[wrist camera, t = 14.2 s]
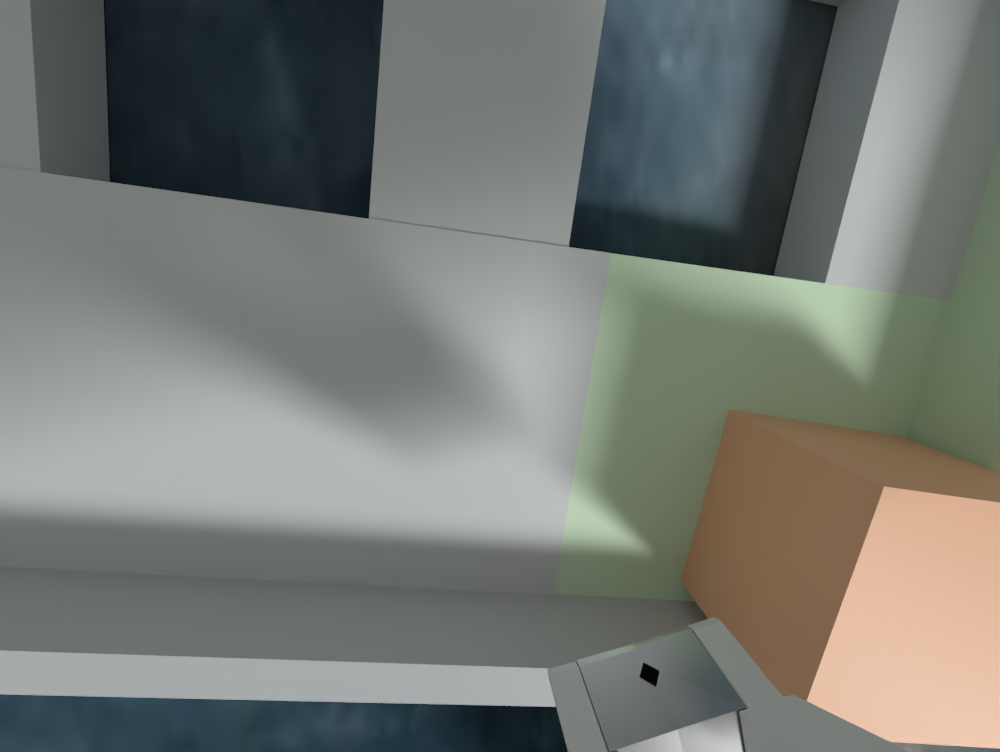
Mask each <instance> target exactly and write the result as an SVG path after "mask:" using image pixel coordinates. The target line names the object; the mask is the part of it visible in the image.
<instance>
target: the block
mask: <svg viewBox="0 0 1000 752" xmlns="http://www.w3.org/2000/svg"><path fill="white" fill-rule="evenodd" d="M681 582H682V584H683V585H684V587H685V588H686V589H687V591H688V592H689V593H690V595H691V596H692V597H693V599H694V600H695V602H696V603H697V604H698V606H699V607H700V608H701V610H702V611H703V612H704V614H705V615H706V617H707V618H708V619H709V618H712V617H716V618H718V619H719V620H721V621H722V623H723V624H724V625H725V626H726V628H727V629H728V630H729V631H730V632H731V634H732V635H733V636H734V637H735V638H736V640H737V641H738V642H739V643H740V645H741V646H742V647H743V648H744V649H745V651H746V652H747V653H748V654H749V656H750V657H751V658H752V659H753V660H754V662H755V663H756V664H757V665H758V666H759V668H760V669H761V670H762V671H763V673H764V674H765V675H766V676H767V677H768V679H769V680H770V681H771V682H772V684H773V685H774V686H775V687H776V688H777V690H778V691H779V692H780V693H781V694H782V696H783V697H786V696H789V695H795V696H797V697H799V698H801V699H803V700H806V701H808V702H810V703H812V704H814V705H816V706H818V707H820V708H822V709H824V710H826V711H828V712H830V713H832V714H834V715H836V716H838V717H840V718H842V719H844V720H846V721H848V722H850V723H852V724H854V725H857V726H859V727H861V728H863V729H865V730H867V731H869V732H871V733H873V734H875V735H877V736H879V737H881V738H883V739H885V740H887V741H889V742H901V743H918V744H934V745H950V746H967V747H983V748H999V749H1000V473H999V472H997V471H994V470H991V469H988V468H986V467H983V466H980V465H978V464H975V463H972V462H969V461H967V460H964V459H961V458H959V457H956V456H953V455H950V454H948V453H945V452H942V451H940V450H937V449H934V448H931V447H929V446H926V445H923V444H921V443H918V442H915V441H912V440H910V439H907V438H904V437H901V436H898V435H891V434H885V433H878V432H872V431H866V430H859V429H853V428H846V427H840V426H834V425H827V424H821V423H814V422H808V421H802V420H795V419H789V418H782V417H776V416H770V415H763V414H757V413H750V412H744V411H738V410H731V409H729V412H728V416H727V419H726V423H725V426H724V430H723V433H722V437H721V440H720V444H719V448H718V451H717V455H716V458H715V462H714V465H713V469H712V472H711V476H710V479H709V483H708V486H707V490H706V493H705V497H704V501H703V504H702V508H701V511H700V515H699V518H698V522H697V525H696V529H695V532H694V536H693V539H692V543H691V546H690V550H689V553H688V557H687V561H686V564H685V568H684V571H683V575H682V578H681Z"/></svg>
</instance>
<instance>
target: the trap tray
mask: <svg viewBox="0 0 1000 752" xmlns="http://www.w3.org/2000/svg"><path fill="white" fill-rule="evenodd" d="M810 1H814V2H819V3H824V4H828V5H833V6H837V7H838V9H837V13H836V17H835V21H834V25H833V30H832V34H831V38H830V42H829V46H828V50H827V55H826V59H825V63H824V67H823V71H822V75H821V80H820V84H819V88H818V92H817V96H816V101H815V105H814V109H813V113H812V117H811V121H810V126H809V130H808V134H807V138H806V142H805V146H804V151H803V155H802V159H801V163H800V167H799V171H798V176H797V180H796V184H795V188H794V192H793V197H792V201H791V205H790V209H789V213H788V217H787V222H786V226H785V230H784V234H783V238H782V242H781V247H780V251H779V255H778V259H777V263H776V267H775V272H774V276H769V275H762V274H755V273H748V272H741V271H734V270H727V269H720V268H713V267H706V266H699V265H691V264H684V263H677V262H670V261H663V260H656V259H649V258H642V257H635V256H628V255H621V254H614V253H608V252H601V251H594V250H587V249H580V248H572V247H569V242H570V235H571V228H572V222H573V215H574V209H575V202H576V196H577V189H578V182H579V176H580V169H581V163H582V156H583V150H584V143H585V137H586V130H587V123H588V117H589V110H590V104H591V97H592V91H593V84H594V77H595V71H596V64H597V58H598V51H599V45H600V38H601V32H602V25H603V18H604V12H605V5H606V0H384V6H383V20H382V35H381V49H380V64H379V78H378V92H377V107H376V121H375V136H374V150H373V165H372V179H371V194H370V208H369V219H367V218H360V217H353V216H346V215H339V214H332V213H325V212H318V211H311V210H304V209H297V208H289V207H282V206H275V205H268V204H261V203H254V202H247V201H240V200H233V199H226V198H219V197H212V196H205V195H198V194H190V193H183V192H176V191H169V190H162V189H155V188H148V187H141V186H134V185H127V184H120V183H113V182H110V165H109V137H108V109H107V80H106V52H105V24H104V0H0V694H11V695H55V696H99V697H143V698H187V699H231V700H275V701H319V702H363V703H407V704H451V705H495V706H539V707H556V704H555V700H554V697H553V693H552V689H551V685H550V681H549V678H548V669H549V668H553V667H556V666H560V665H564V664H567V663H571V662H574V661H576V663H577V660H578V659H582V658H585V657H589V656H593V655H596V654H600V653H603V652H607V651H610V650H614V649H617V648H621V647H624V646H628V645H631V644H633V643H636V642H639V641H642V640H645V639H648V638H651V637H654V636H657V635H660V634H664V633H667V632H670V631H673V630H676V629H679V628H682V627H687V626H688V625H691V624H694V623H697V622H700V621H703V620H706V619H708V618H707V617H706V615H705V614H704V612H703V611H702V610H701V608H700V607H699V606H698V604H697V603H696V602H695V600H694V599H693V597H692V596H691V595H690V593H689V592H688V591H687V589H686V588H685V587H684V585H683V584H682V582H681V578H682V575H683V571H684V568H685V564H686V561H687V557H688V553H689V550H690V546H691V543H692V539H693V536H694V532H695V529H696V525H697V522H698V518H699V515H700V511H701V508H702V504H703V501H704V497H705V493H706V490H707V486H708V483H709V479H710V476H711V472H712V469H713V465H714V462H715V458H716V455H717V451H718V448H719V444H720V440H721V437H722V433H723V430H724V426H725V423H726V419H727V416H728V412H729V409H731V410H738V411H744V412H750V413H757V414H763V415H770V416H776V417H782V418H789V419H795V420H802V421H808V422H814V423H821V424H827V425H834V426H840V427H846V428H853V429H859V430H866V431H872V432H878V433H885V434H891V435H898V436H901V437H904V438H907V439H910V440H912V441H915V442H918V443H921V444H923V445H926V446H929V447H931V448H934V449H937V450H940V451H942V452H945V453H948V454H950V455H953V456H956V457H959V458H961V459H964V460H967V461H969V462H972V463H975V464H978V465H980V466H983V467H986V468H988V469H991V470H994V471H997V472H999V473H1000V0H810Z"/></svg>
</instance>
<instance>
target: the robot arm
mask: <svg viewBox="0 0 1000 752" xmlns="http://www.w3.org/2000/svg"><path fill="white" fill-rule="evenodd" d="M548 678H549V681H550V685H551V689H552V693H553V697H554V700H555V704H556V708H557V712H558V716H559V720H560V723H561V727H562V731H563V735H564V739H565V743H566V746H567V750H568V752H910V751H908V750H905V749H903V748H901V747H899V746H897V745H895V744H893V743H891V742H889V741H887V740H885V739H883V738H881V737H879V736H877V735H875V734H873V733H871V732H869V731H867V730H865V729H863V728H861V727H859V726H857V725H854V724H852V723H850V722H848V721H846V720H844V719H842V718H840V717H838V716H836V715H834V714H832V713H830V712H828V711H826V710H824V709H822V708H820V707H818V706H816V705H814V704H812V703H810V702H808V701H806V700H803V699H801V698H799V697H797V696H795V695H789V696H786V697H783V696H782V694H781V693H780V692H779V691H778V690H777V688H776V687H775V686H774V685H773V684H772V682H771V681H770V680H769V679H768V677H767V676H766V675H765V674H764V673H763V671H762V670H761V669H760V668H759V666H758V665H757V664H756V663H755V662H754V660H753V659H752V658H751V657H750V656H749V654H748V653H747V652H746V651H745V649H744V648H743V647H742V646H741V645H740V643H739V642H738V641H737V640H736V638H735V637H734V636H733V635H732V634H731V632H730V631H729V630H728V629H727V628H726V626H725V625H724V624H723V623H722V621H721V620H719V619H718V618H716V617H712V618H709V619H706V620H703V621H700V622H697V623H694V624H691V625H688V626H687V627H682V628H679V629H676V630H673V631H670V632H667V633H664V634H660V635H657V636H654V637H651V638H648V639H645V640H642V641H639V642H636V643H633V644H631V645H628V646H624V647H621V648H617V649H614V650H610V651H607V652H603V653H600V654H596V655H593V656H589V657H585V658H582V659H578V660H577V663H576V661H574V662H571V663H567V664H564V665H560V666H556V667H553V668H549V669H548Z"/></svg>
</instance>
